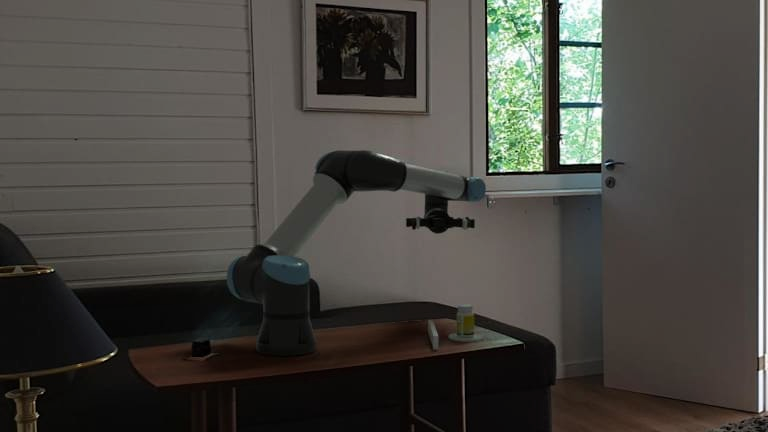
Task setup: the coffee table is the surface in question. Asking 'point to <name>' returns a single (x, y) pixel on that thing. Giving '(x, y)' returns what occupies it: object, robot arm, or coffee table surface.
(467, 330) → the supplement bottle
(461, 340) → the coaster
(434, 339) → the low wall
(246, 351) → the coffee table surface
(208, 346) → the black block
